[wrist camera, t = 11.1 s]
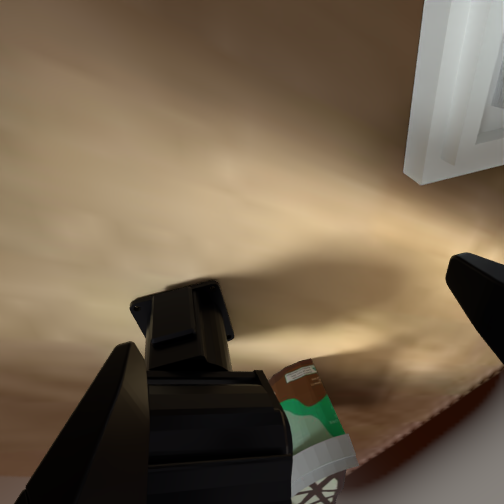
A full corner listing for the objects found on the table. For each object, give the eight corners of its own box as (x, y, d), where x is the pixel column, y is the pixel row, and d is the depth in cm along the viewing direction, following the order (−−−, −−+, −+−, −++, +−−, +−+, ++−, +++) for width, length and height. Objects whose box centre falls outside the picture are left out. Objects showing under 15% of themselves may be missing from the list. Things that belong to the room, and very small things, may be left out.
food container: (248, 360, 31) (276, 482, 23) (312, 348, 32) (360, 462, 24) (251, 427, 38) (274, 537, 30) (303, 415, 39) (338, 519, 31)
